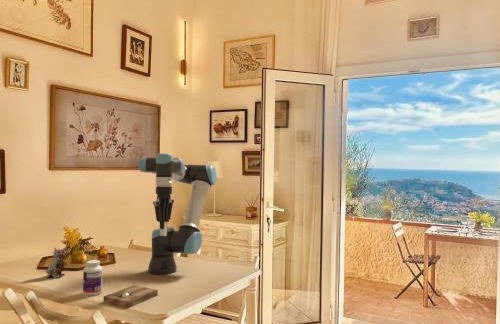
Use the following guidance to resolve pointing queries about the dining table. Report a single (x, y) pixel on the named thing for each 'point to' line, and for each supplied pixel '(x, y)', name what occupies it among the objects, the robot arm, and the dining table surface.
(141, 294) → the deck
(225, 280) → the dining table surface
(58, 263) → the figurine
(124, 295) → the ball
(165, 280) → the dining table surface
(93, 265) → the pill bottle
